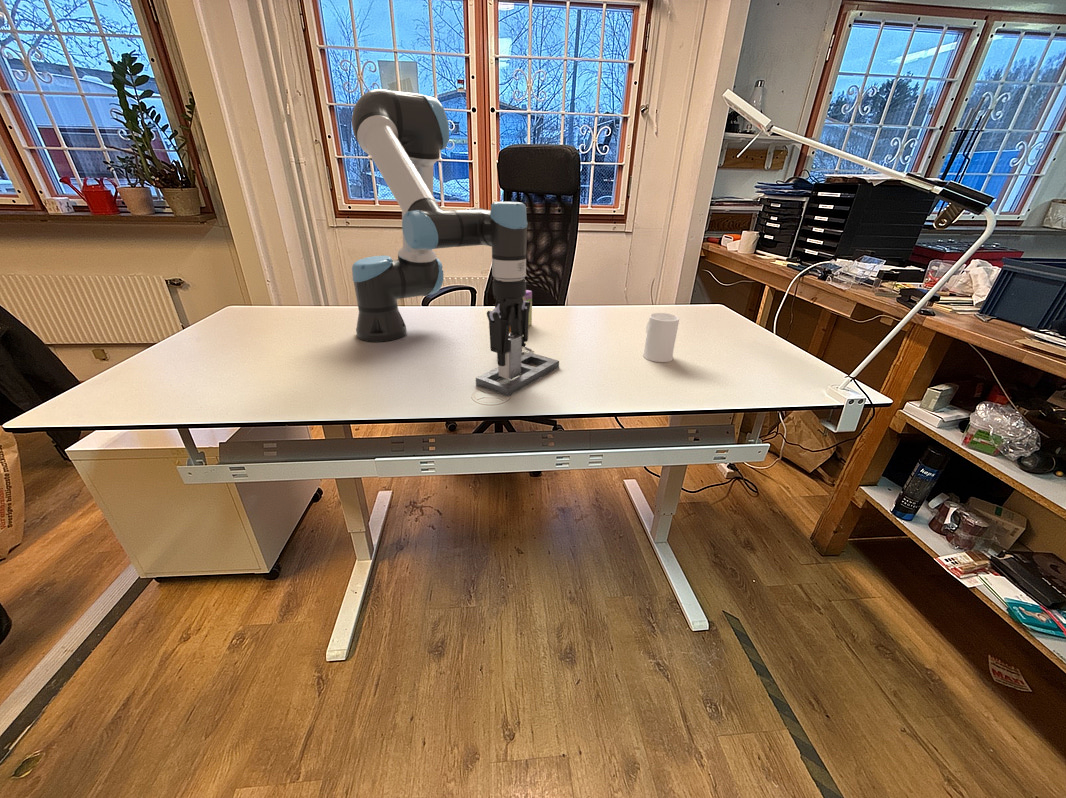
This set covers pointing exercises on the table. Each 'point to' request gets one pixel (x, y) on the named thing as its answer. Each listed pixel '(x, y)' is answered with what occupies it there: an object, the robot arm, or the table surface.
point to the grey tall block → (514, 355)
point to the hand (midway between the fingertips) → (510, 373)
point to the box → (529, 298)
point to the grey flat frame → (522, 381)
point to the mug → (660, 337)
